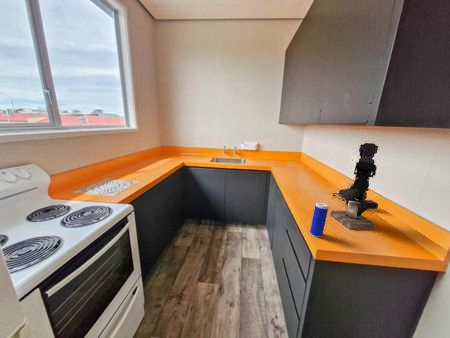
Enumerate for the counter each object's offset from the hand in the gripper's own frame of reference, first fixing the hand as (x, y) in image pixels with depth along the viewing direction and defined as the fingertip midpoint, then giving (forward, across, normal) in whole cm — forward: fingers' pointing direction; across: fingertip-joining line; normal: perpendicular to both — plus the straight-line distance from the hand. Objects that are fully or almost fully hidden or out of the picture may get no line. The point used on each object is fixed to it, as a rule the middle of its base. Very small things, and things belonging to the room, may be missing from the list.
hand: (353, 213), depth 95 cm
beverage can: (+5, +11, -27) cm, 30 cm away
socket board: (+5, 0, 0) cm, 5 cm away
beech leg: (+4, 0, 0) cm, 4 cm away
